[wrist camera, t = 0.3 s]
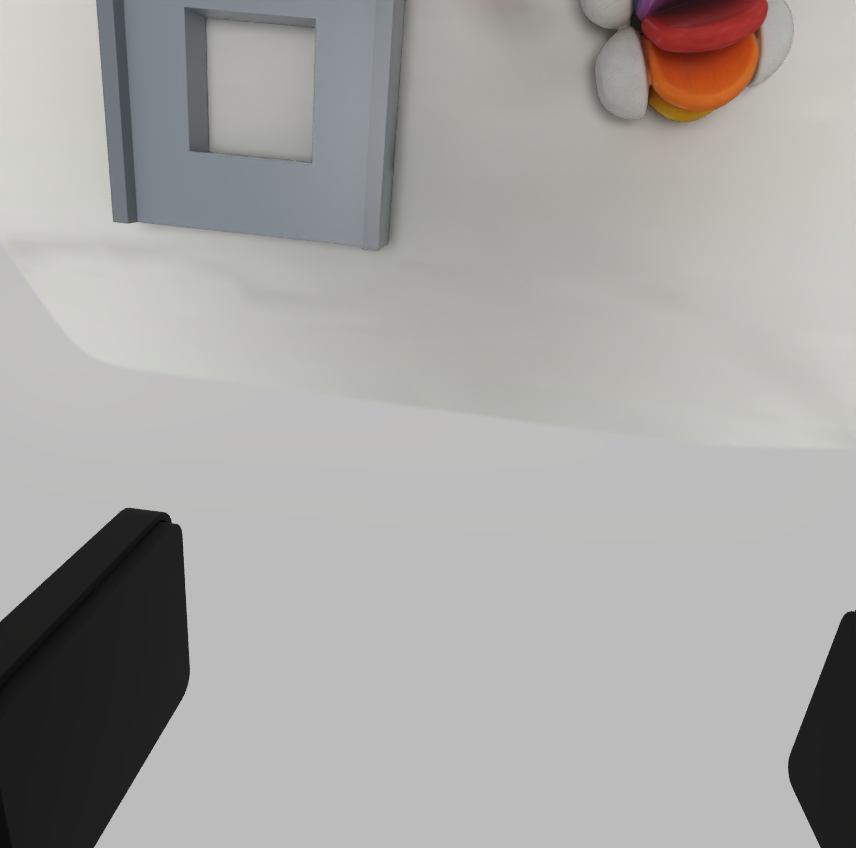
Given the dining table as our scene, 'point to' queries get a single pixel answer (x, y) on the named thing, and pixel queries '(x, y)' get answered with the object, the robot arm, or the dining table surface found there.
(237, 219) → the tray
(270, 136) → the dining table surface
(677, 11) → the rainbow white-lobed toy
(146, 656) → the robot arm
